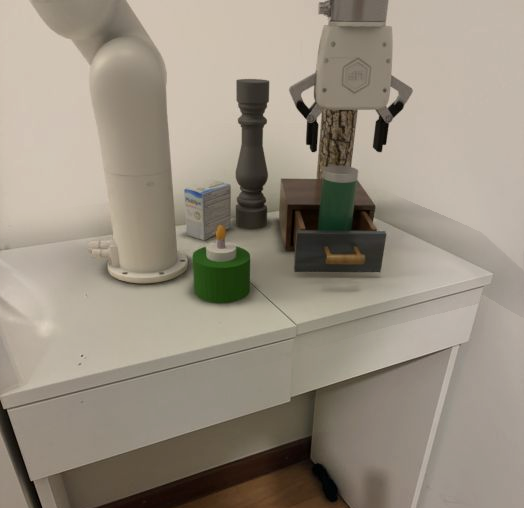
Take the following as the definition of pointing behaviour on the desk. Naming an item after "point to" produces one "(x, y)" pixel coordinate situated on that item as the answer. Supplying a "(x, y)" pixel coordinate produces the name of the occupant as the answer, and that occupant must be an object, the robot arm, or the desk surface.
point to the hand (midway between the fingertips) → (345, 150)
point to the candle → (221, 271)
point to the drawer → (336, 244)
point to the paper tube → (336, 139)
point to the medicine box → (207, 208)
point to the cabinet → (310, 203)
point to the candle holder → (252, 153)
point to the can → (337, 198)
